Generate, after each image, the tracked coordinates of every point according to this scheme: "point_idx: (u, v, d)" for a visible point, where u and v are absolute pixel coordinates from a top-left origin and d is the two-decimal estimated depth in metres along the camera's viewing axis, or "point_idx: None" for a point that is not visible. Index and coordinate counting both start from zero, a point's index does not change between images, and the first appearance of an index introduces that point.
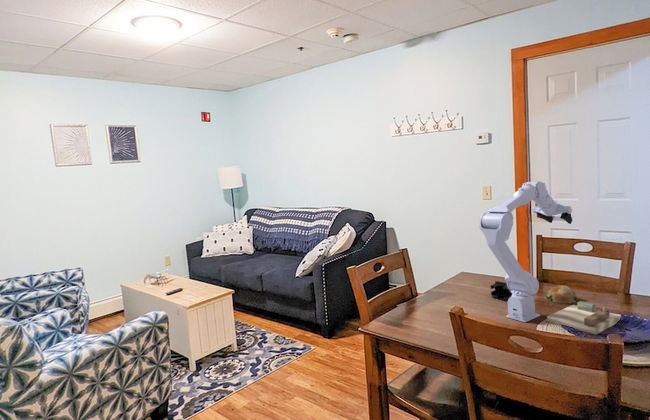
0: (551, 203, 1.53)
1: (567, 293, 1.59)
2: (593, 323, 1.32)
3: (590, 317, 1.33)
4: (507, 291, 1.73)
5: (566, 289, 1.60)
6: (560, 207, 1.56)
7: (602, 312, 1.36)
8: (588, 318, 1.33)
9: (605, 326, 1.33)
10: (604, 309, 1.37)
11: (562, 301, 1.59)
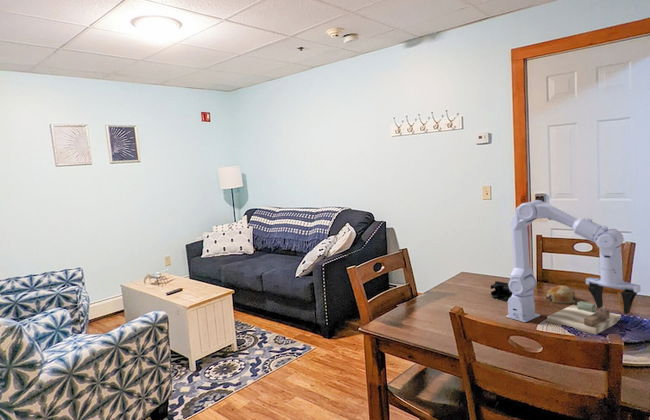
0: (605, 269, 1.25)
1: (566, 293, 1.59)
2: (593, 323, 1.32)
3: (590, 317, 1.33)
4: (507, 291, 1.73)
5: (565, 289, 1.60)
6: (625, 284, 1.24)
7: (602, 312, 1.36)
8: (588, 318, 1.33)
9: (605, 326, 1.33)
10: (604, 309, 1.37)
11: (561, 301, 1.59)
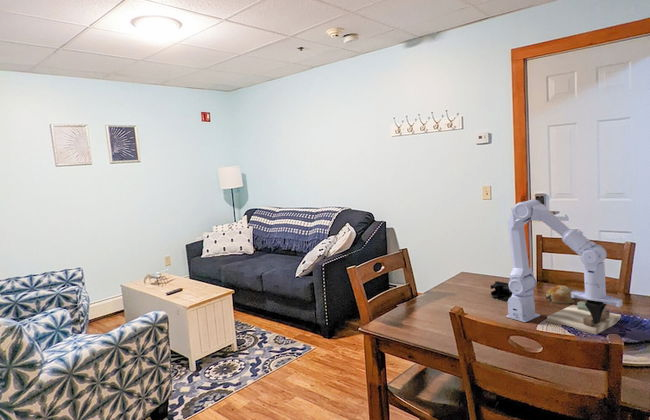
0: (589, 283, 1.29)
1: (566, 293, 1.59)
2: (592, 323, 1.32)
3: (589, 317, 1.34)
4: (507, 291, 1.73)
5: (565, 289, 1.60)
6: None
7: (602, 312, 1.37)
8: (587, 318, 1.33)
9: (605, 326, 1.33)
10: (604, 309, 1.37)
11: (561, 301, 1.59)
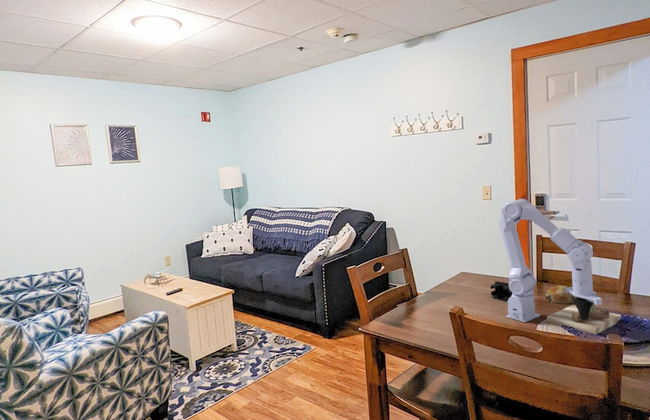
0: (577, 281, 1.33)
1: (566, 293, 1.59)
2: (579, 319, 1.36)
3: None
4: (507, 291, 1.73)
5: (565, 289, 1.60)
6: (593, 296, 1.31)
7: (599, 311, 1.37)
8: (576, 314, 1.37)
9: (605, 326, 1.33)
10: (603, 309, 1.37)
11: (561, 301, 1.59)
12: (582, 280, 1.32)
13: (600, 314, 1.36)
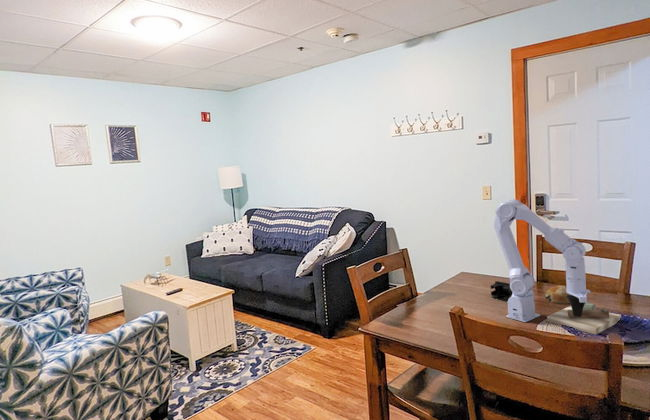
0: (571, 279, 1.36)
1: (565, 293, 1.59)
2: (572, 315, 1.39)
3: None
4: (507, 291, 1.73)
5: (564, 289, 1.60)
6: None
7: (598, 311, 1.38)
8: (571, 310, 1.41)
9: (605, 326, 1.33)
10: (603, 309, 1.37)
11: (560, 301, 1.59)
12: (577, 278, 1.35)
13: (597, 313, 1.37)
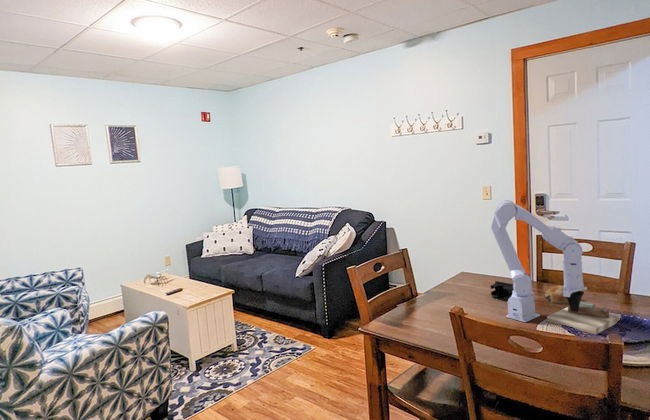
0: (571, 275, 1.40)
1: None
2: None
3: None
4: (507, 291, 1.73)
5: None
6: (573, 290, 1.40)
7: (598, 310, 1.39)
8: None
9: (605, 326, 1.33)
10: (603, 308, 1.38)
11: (560, 301, 1.59)
12: (576, 274, 1.39)
13: (595, 312, 1.39)
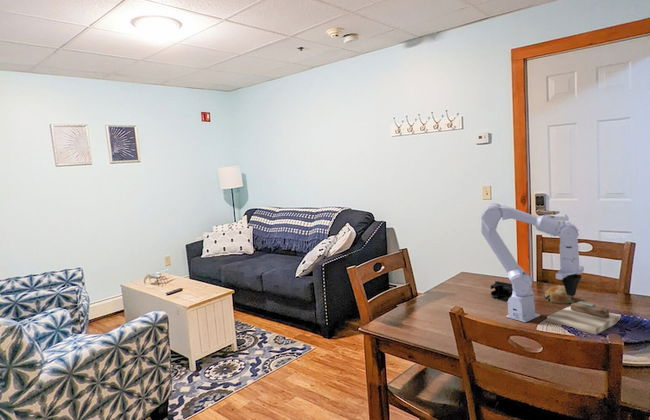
0: (567, 258, 1.39)
1: (565, 293, 1.59)
2: (573, 308, 1.46)
3: (579, 304, 1.46)
4: (507, 291, 1.73)
5: (564, 289, 1.61)
6: None
7: (598, 309, 1.39)
8: (575, 303, 1.47)
9: (605, 326, 1.33)
10: (603, 308, 1.38)
11: (560, 301, 1.59)
12: (572, 257, 1.38)
13: (595, 311, 1.39)
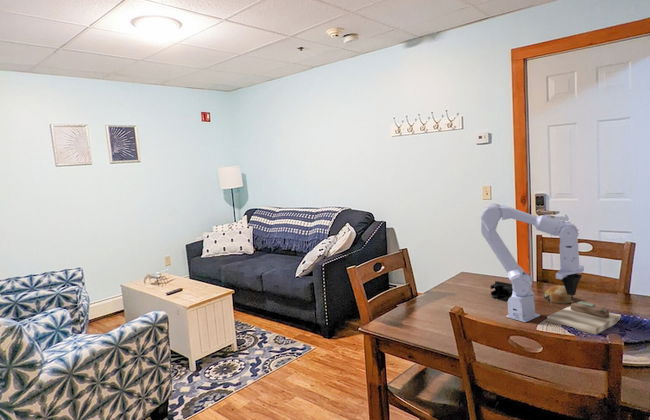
0: (567, 258, 1.39)
1: (564, 293, 1.59)
2: (573, 308, 1.46)
3: (579, 304, 1.46)
4: (507, 291, 1.73)
5: (563, 289, 1.61)
6: (567, 273, 1.39)
7: (598, 309, 1.39)
8: (575, 303, 1.47)
9: (605, 326, 1.33)
10: (603, 308, 1.38)
11: (559, 301, 1.59)
12: (572, 257, 1.38)
13: (595, 311, 1.39)
